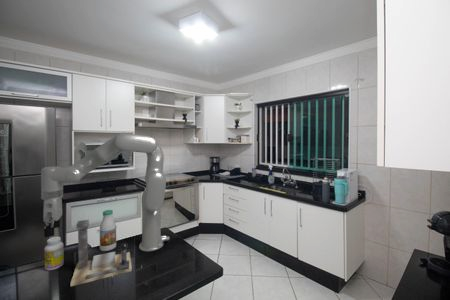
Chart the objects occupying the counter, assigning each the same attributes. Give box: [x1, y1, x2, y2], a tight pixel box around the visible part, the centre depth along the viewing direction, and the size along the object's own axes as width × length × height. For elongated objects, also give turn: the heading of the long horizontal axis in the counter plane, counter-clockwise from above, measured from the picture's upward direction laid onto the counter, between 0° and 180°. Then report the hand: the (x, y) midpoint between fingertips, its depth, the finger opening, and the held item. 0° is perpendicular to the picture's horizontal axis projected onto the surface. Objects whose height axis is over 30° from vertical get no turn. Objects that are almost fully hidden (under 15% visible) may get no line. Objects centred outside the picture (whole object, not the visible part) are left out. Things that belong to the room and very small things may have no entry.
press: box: [70, 219, 133, 287], centre depth 92 cm, size 22×15×22 cm
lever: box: [119, 242, 129, 269], centre depth 90 cm, size 4×3×10 cm
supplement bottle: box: [44, 236, 65, 271], centre depth 93 cm, size 7×7×13 cm
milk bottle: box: [99, 209, 117, 252], centre depth 110 cm, size 8×8×20 cm
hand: (52, 231), depth 93 cm, fingers open, 9 cm apart
